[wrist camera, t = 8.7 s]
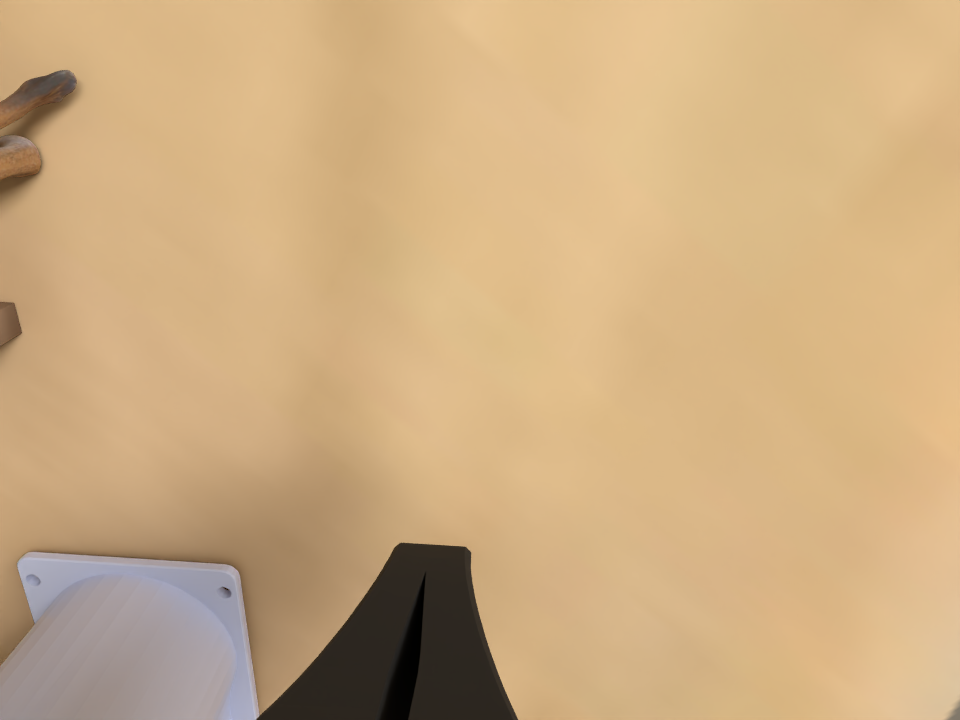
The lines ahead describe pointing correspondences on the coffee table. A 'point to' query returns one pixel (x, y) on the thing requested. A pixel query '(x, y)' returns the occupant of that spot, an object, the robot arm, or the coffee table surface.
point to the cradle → (8, 322)
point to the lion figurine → (16, 151)
